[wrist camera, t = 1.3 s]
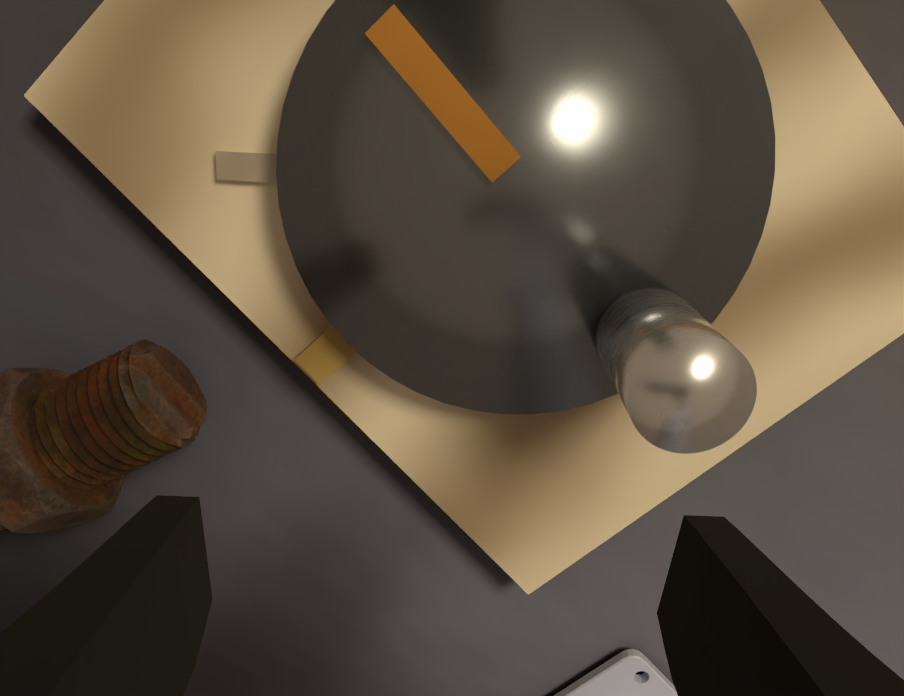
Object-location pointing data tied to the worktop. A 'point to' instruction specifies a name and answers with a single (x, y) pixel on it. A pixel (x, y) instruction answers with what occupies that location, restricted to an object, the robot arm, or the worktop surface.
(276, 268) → the board
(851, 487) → the worktop surface
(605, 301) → the dial
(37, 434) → the bolt
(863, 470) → the worktop surface
